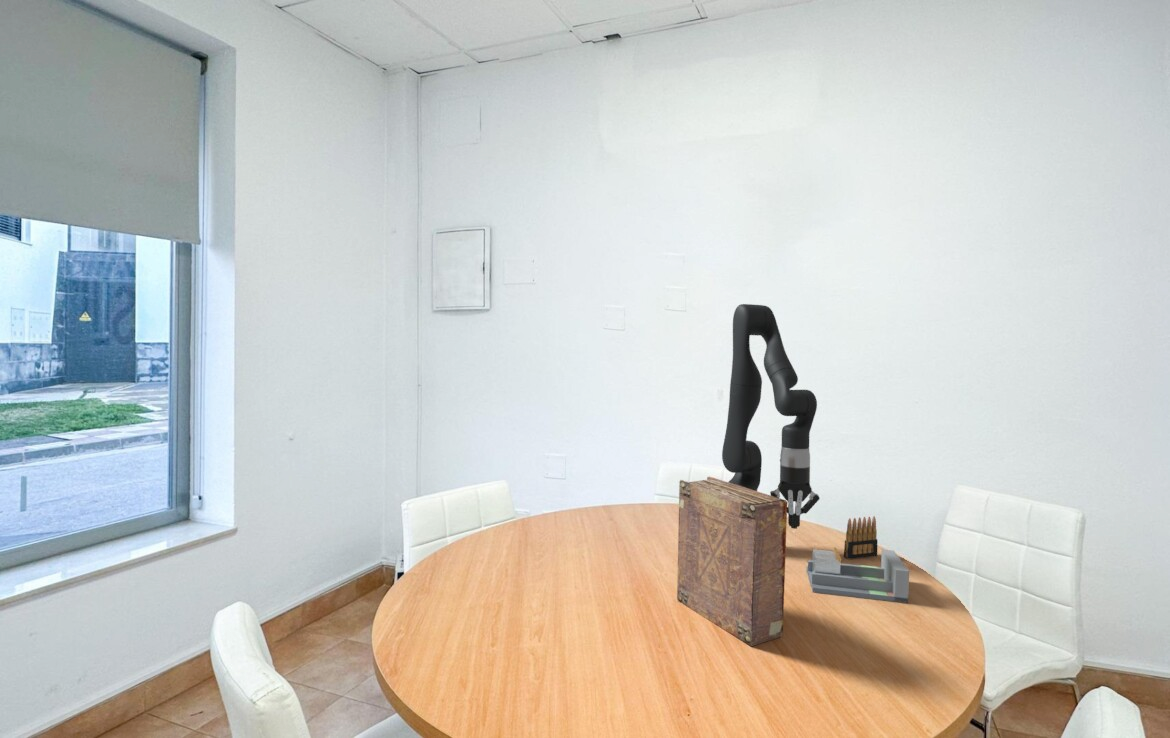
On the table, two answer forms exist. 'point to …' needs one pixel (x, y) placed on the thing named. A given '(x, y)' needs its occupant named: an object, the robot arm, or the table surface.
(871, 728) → the table surface
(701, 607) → the book
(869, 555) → the ammunition clip
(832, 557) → the plunger
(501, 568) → the table surface
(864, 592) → the base
